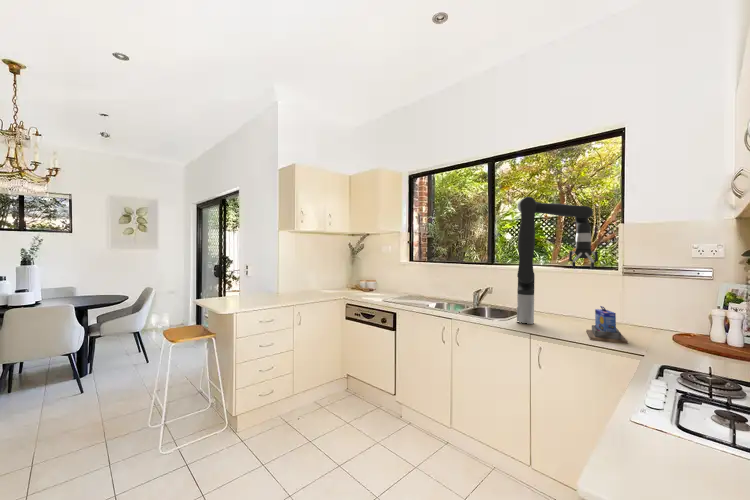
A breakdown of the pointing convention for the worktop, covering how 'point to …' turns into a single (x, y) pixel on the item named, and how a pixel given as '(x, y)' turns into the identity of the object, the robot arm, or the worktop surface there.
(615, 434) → the worktop surface
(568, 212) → the robot arm
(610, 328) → the ink cartridge box
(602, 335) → the docking frame
